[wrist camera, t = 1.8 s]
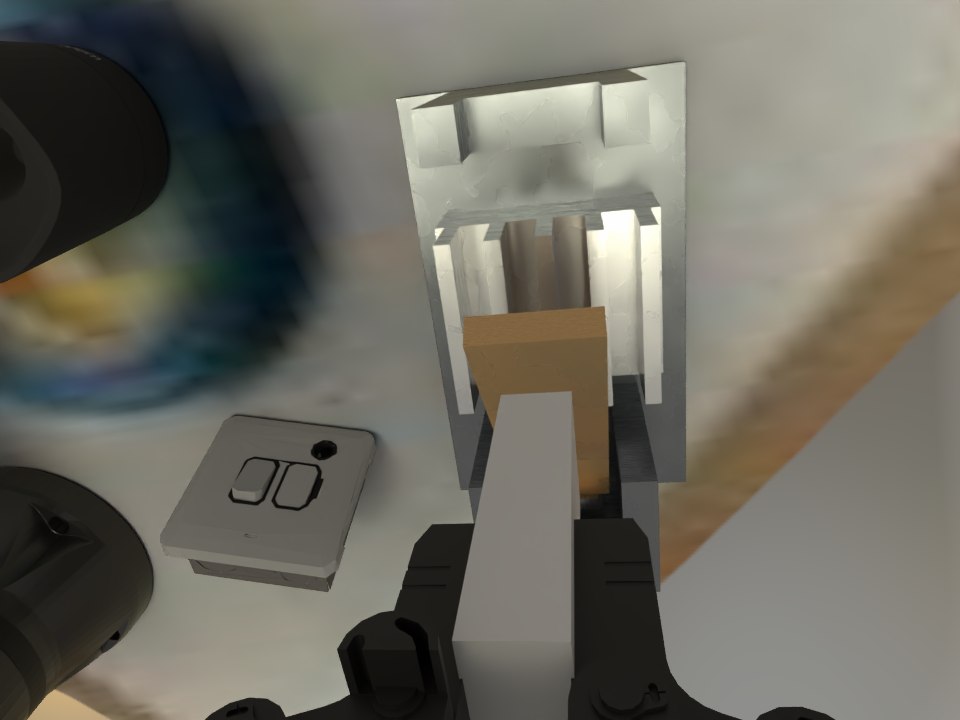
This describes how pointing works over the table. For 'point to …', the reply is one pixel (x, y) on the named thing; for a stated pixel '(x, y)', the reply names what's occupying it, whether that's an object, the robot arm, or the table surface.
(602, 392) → the strap
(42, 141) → the pen holder
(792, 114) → the table surface
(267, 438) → the electrical switch
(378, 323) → the table surface
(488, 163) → the base
